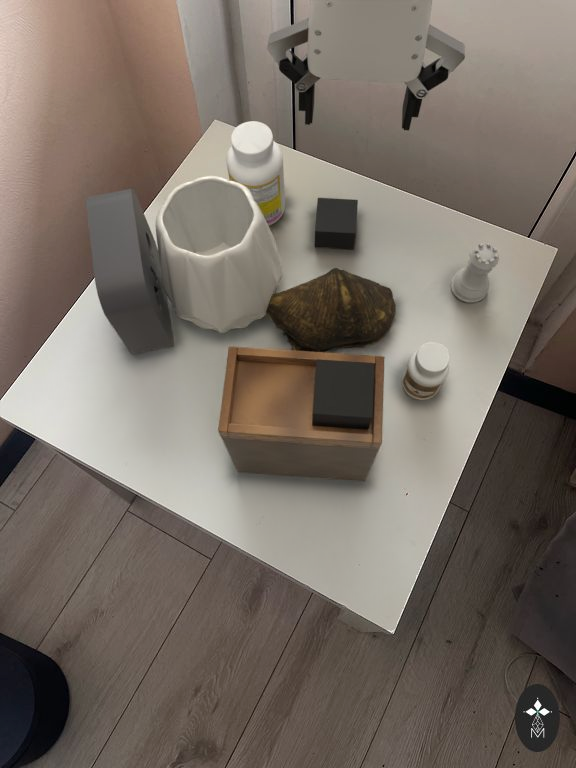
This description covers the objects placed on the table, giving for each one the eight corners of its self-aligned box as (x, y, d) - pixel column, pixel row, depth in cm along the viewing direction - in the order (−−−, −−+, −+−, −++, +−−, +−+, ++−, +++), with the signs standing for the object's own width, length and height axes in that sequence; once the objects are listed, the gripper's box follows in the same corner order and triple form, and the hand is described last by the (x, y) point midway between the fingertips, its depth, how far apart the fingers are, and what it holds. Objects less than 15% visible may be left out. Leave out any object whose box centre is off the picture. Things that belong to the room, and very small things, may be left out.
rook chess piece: (493, 283, 75) (513, 246, 68) (476, 310, 74) (496, 276, 66) (460, 266, 76) (477, 228, 69) (443, 293, 75) (459, 257, 67)
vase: (256, 358, 72) (244, 295, 58) (150, 319, 74) (113, 250, 60) (300, 262, 77) (298, 182, 63) (198, 228, 79) (174, 143, 65)
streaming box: (80, 185, 64) (128, 176, 64) (119, 260, 78) (159, 252, 78) (93, 305, 59) (146, 294, 59) (133, 362, 73) (176, 354, 73)
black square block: (370, 377, 56) (374, 362, 52) (368, 430, 54) (372, 418, 51) (315, 373, 56) (316, 358, 53) (312, 426, 54) (312, 413, 51)
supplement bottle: (245, 181, 82) (235, 107, 70) (292, 194, 81) (290, 121, 69) (227, 221, 79) (213, 151, 67) (275, 235, 78) (269, 167, 66)
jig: (367, 411, 70) (384, 356, 55) (365, 481, 67) (382, 443, 52) (245, 403, 70) (228, 345, 56) (237, 472, 68) (217, 431, 53)
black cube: (355, 216, 79) (357, 199, 76) (353, 249, 77) (356, 233, 74) (317, 214, 79) (317, 197, 76) (314, 247, 78) (314, 231, 74)
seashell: (389, 274, 75) (400, 254, 68) (400, 345, 74) (413, 332, 67) (257, 290, 75) (255, 272, 68) (266, 362, 74) (265, 351, 67)
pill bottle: (396, 393, 70) (406, 367, 63) (408, 360, 72) (419, 331, 65) (433, 406, 70) (448, 382, 62) (444, 373, 71) (460, 345, 64)
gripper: (494, -88, 46) (444, 92, 62) (267, -97, 47) (275, 83, 63) (497, -18, 44) (444, 151, 60) (256, -29, 44) (267, 141, 60)
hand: (357, 116), depth 61 cm, fingers open, 9 cm apart
